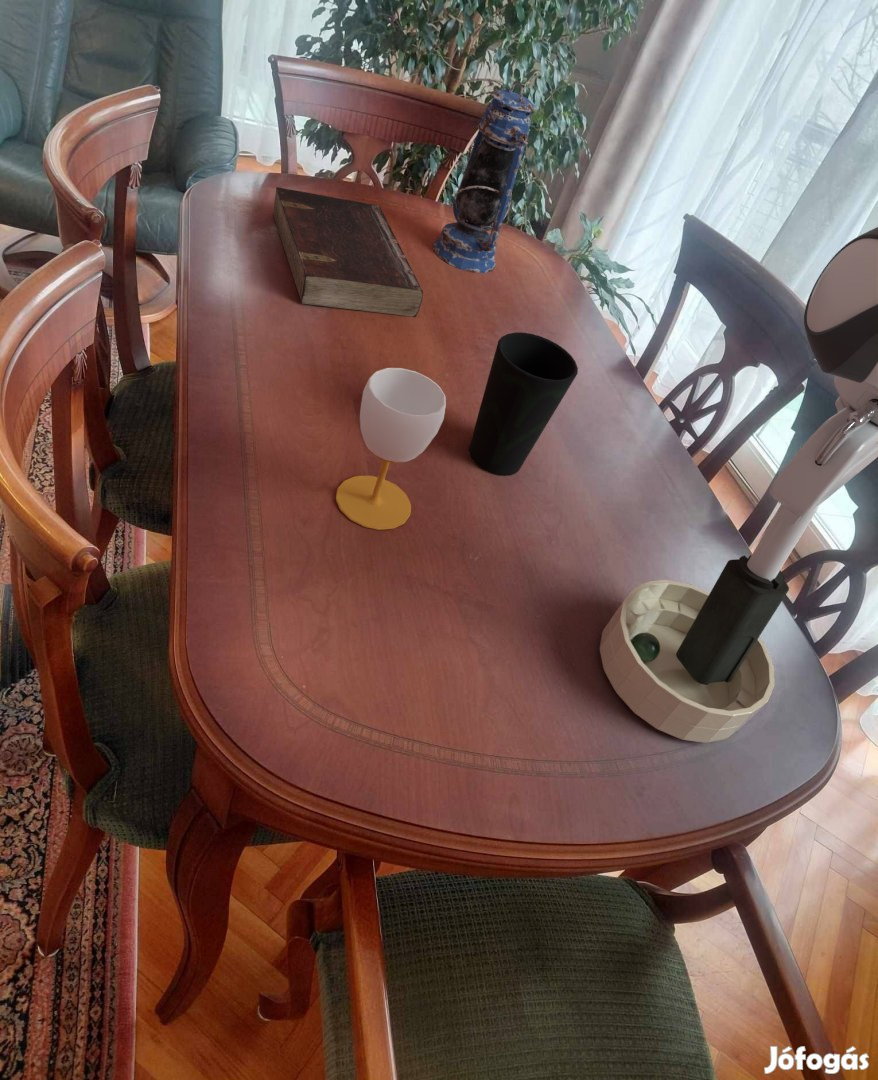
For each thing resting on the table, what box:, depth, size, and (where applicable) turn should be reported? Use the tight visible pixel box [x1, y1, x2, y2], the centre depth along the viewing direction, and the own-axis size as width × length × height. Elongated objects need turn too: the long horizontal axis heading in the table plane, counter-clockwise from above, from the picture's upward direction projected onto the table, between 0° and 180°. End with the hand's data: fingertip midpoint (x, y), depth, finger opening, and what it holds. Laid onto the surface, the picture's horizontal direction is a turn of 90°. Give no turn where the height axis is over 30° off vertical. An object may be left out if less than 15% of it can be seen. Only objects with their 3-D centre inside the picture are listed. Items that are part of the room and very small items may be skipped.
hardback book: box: [272, 186, 424, 318], centre depth 129 cm, size 29×19×5 cm, turn 17°
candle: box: [676, 504, 819, 685], centre depth 77 cm, size 5×5×25 cm
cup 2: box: [468, 331, 579, 477], centre depth 99 cm, size 10×10×16 cm
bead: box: [631, 632, 660, 662], centre depth 84 cm, size 3×3×3 cm
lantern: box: [432, 80, 537, 274], centre depth 136 cm, size 15×12×30 cm
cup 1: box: [335, 367, 447, 531], centre depth 86 cm, size 9×9×16 cm
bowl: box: [599, 579, 775, 744], centre depth 83 cm, size 17×17×6 cm
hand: (796, 510), depth 72 cm, fingers closed on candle, 3 cm apart
